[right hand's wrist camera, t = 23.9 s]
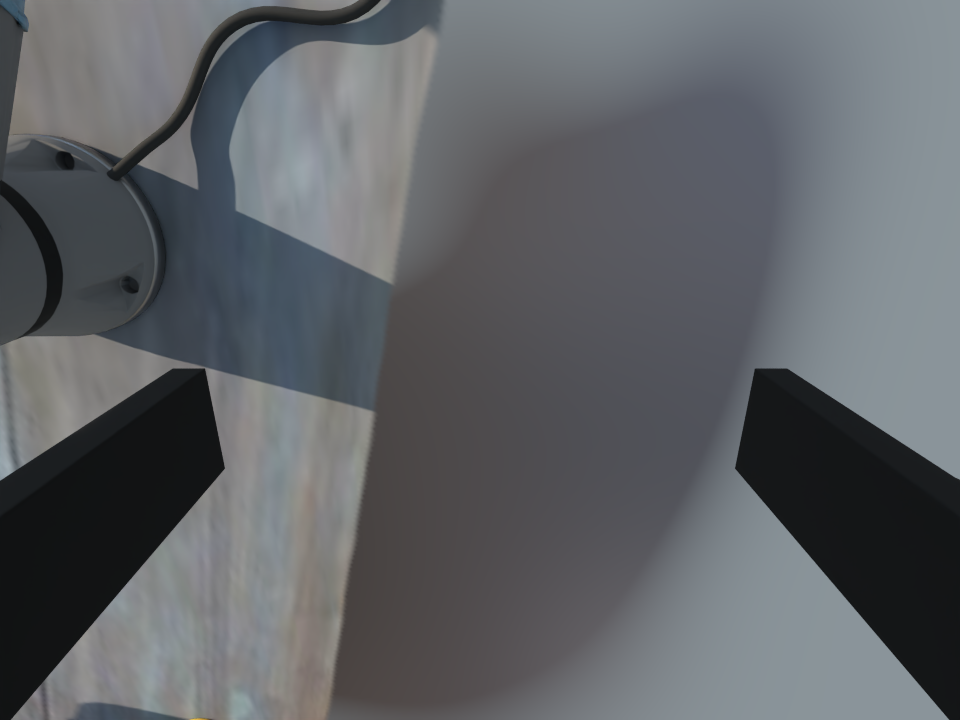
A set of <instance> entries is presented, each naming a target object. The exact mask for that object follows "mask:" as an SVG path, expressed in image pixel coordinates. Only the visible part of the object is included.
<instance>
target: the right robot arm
mask: <svg viewBox="0 0 960 720" xmlns="http://www.w3.org/2000/svg"><path fill="white" fill-rule="evenodd" d="M379 2H380V0H359V1H357V2H355V3H354V4H352V5H350V6H347V7H345V8H342V9H337V10H331V11H315V10H305V9H297V8H289V7H278V6H262V7H254V8H250V9H247V10H243V11H240V12H238V13H236V14H235V15H233V16H231V17H229V18H228V19H226V20H225V21H224V22H223V23H221V24H220V25H219V26H218V27H217V28H216V29H215V30H214V32H213V33H212V34H211V35H210V37H209V38H208V40H207V41H206V43H205V44H204V46H203V48H202V50H201V52H200V54H199V57H198V59H197V62H196V64H195V67H194V70H193V73H192V75H191V78H190V81H189V84H188V86H187V89H186V91H185V94H184V96H183V98H182V100H181V102H180V104H179V106H178V107H177V109H176V111H175V112H174V113H173V115H172V116H171V117H170V119H169V120H168V121H167V122H166V123H165V124H164V125H163V126H162V127H161V128H160V129H158V130H157V131H156V132H155V133H153V134H152V135H151V136H149V137H148V138H147V139H145V140H144V141H143V142H142V143H140V144H139V145H138V146H137V147H136V148H134V149H133V150H132V151H131V152H130V153H129V154H128V155H126V156H125V157H124V158H123V159H122V160H121V161H120V162H118V163H117V164H115V163H114V162H112V161H111V160H110V159H108V158H107V157H105V156H104V155H102V154H101V153H99V152H97V151H96V150H94V149H92V148H90V147H88V146H86V145H83V144H81V143H78V142H76V141H73V140H69V139H66V138H62V137H56V136H49V135H36V134H14V135H9V129H10V122H11V115H12V108H13V101H14V94H15V87H16V80H17V73H18V66H19V59H20V52H21V44H22V37H23V31H24V32H28V27H29V23H28V19H27V17H26V16H25V14H24V6H25V0H0V345H3V344H5V343H8V342H10V341H13V340H16V339H18V338H21V337H24V336H84V335H91V334H96V333H101V332H105V331H108V330H111V329H114V328H116V327H118V326H121V325H123V324H125V323H127V322H129V321H131V320H133V319H135V318H136V317H138V316H139V315H140V314H141V313H143V312H144V311H145V310H146V309H147V308H148V307H149V306H150V304H151V303H152V301H153V300H154V299H155V297H156V295H157V293H158V291H159V289H160V286H161V284H162V280H163V277H164V271H165V246H164V240H163V236H162V231H161V228H160V225H159V222H158V220H157V218H156V215H155V213H154V211H153V209H152V207H151V205H150V203H149V202H148V200H147V199H146V197H145V195H144V194H143V193H142V191H141V190H140V189H139V187H138V186H137V185H136V183H135V182H134V181H133V180H132V179H131V178H130V177H129V176H128V175H127V174H126V173H127V172H129V171H130V170H131V169H132V168H133V167H134V166H135V165H137V164H138V163H139V162H140V161H141V160H142V159H143V158H145V157H146V156H147V155H148V154H149V153H151V152H152V151H153V150H154V149H156V148H157V147H158V146H160V145H161V144H162V143H164V142H165V141H166V140H167V139H169V138H170V137H171V136H172V135H173V134H174V133H175V132H176V131H177V130H178V129H179V128H180V127H181V125H182V124H183V123H184V121H185V120H186V119H187V117H188V115H189V114H190V112H191V110H192V109H193V106H194V104H195V102H196V100H197V98H198V95H199V93H200V91H201V88H202V85H203V82H204V80H205V77H206V74H207V72H208V69H209V66H210V64H211V62H212V60H213V57H214V56H215V54H216V52H217V50H218V49H219V47H220V46H221V45H222V43H223V42H224V41H225V40H226V39H227V38H228V37H229V36H230V35H231V34H233V33H234V32H235V31H236V30H238V29H240V28H242V27H244V26H246V25H248V24H252V23H255V22H261V21H286V22H295V23H303V24H311V25H336V24H342V23H346V22H349V21H352V20H354V19H357V18H359V17H360V16H362V15H364V14H365V13H367V12H369V11H370V10H371V9H372V8H373V7H374V6H375V5H377V4H378V3H379ZM224 469H225V467H224V462H223V457H222V451H221V446H220V441H219V436H218V431H217V426H216V421H215V416H214V411H213V406H212V401H211V396H210V391H209V386H208V381H207V376H206V371H205V369H172V370H170V371H168V372H167V373H165V374H164V375H162V376H161V377H159V378H158V379H156V380H155V381H153V382H152V383H150V384H148V385H147V386H145V387H144V388H142V389H141V390H139V391H138V392H136V393H135V394H133V395H132V396H130V397H128V398H127V399H125V400H124V401H122V402H121V403H119V404H118V405H116V406H115V407H113V408H111V409H110V410H108V411H107V412H105V413H104V414H102V415H101V416H99V417H98V418H96V419H95V420H93V421H91V422H90V423H88V424H87V425H85V426H84V427H82V428H81V429H79V430H78V431H76V432H75V433H73V434H71V435H70V436H68V437H67V438H65V439H64V440H62V441H61V442H59V443H58V444H56V445H55V446H53V447H51V448H50V449H48V450H47V451H45V452H44V453H42V454H41V455H39V456H38V457H36V458H34V459H33V460H31V461H30V462H28V463H27V464H25V465H24V466H22V467H21V468H19V469H18V470H16V471H14V472H13V473H11V474H10V475H8V476H7V477H5V478H4V479H2V480H1V481H0V720H11V719H12V718H13V716H14V715H15V714H16V713H17V712H18V711H19V709H20V708H21V707H22V706H23V705H24V704H25V702H26V701H27V700H28V699H29V698H30V697H31V695H32V694H33V693H34V692H35V691H36V690H37V688H38V687H39V686H40V685H41V684H42V682H43V681H44V680H45V679H46V678H47V677H48V675H49V674H50V673H51V672H52V671H53V670H54V668H55V667H56V666H57V665H58V664H59V663H60V661H61V660H62V659H63V658H64V657H65V655H66V654H67V653H68V652H69V651H70V650H71V648H72V647H73V646H74V645H75V644H76V643H77V641H78V640H79V639H80V638H81V637H82V636H83V634H84V633H85V632H86V631H87V630H88V628H89V627H90V626H91V625H92V624H93V623H94V621H95V620H96V619H97V618H98V617H99V616H100V614H101V613H102V612H103V611H104V610H105V609H106V607H107V606H108V605H109V604H110V603H111V602H112V600H113V599H114V598H115V597H116V596H117V594H118V593H119V592H120V591H121V590H122V589H123V587H124V586H125V585H126V584H127V583H128V582H129V580H130V579H131V578H132V577H133V576H134V575H135V573H136V572H137V571H138V570H139V569H140V567H141V566H142V565H143V564H144V563H145V562H146V560H147V559H148V558H149V557H150V556H151V555H152V553H153V552H154V551H155V550H156V549H157V548H158V546H159V545H160V544H161V543H162V542H163V541H164V539H165V538H166V537H167V536H168V535H169V533H170V532H171V531H172V530H173V529H174V528H175V526H176V525H177V524H178V523H179V522H180V521H181V519H182V518H183V517H184V516H185V515H186V514H187V512H188V511H189V510H190V509H191V508H192V506H193V505H194V504H195V503H196V502H197V501H198V499H199V498H200V497H201V496H202V495H203V494H204V492H205V491H206V490H207V489H208V488H209V487H210V485H211V484H212V483H213V482H214V481H215V480H216V478H217V477H218V476H219V475H220V474H221V472H222V471H223V470H224ZM735 469H736V470H737V471H738V472H739V474H740V475H741V476H742V477H743V478H744V480H745V481H746V482H747V483H748V484H749V485H750V487H751V488H752V489H753V490H754V491H755V492H756V494H757V495H758V496H759V497H760V498H761V499H762V501H763V502H764V503H765V504H766V505H767V506H768V508H769V509H770V510H771V511H772V512H773V513H774V515H775V516H776V517H777V518H778V519H779V521H780V522H781V523H782V524H783V525H784V526H785V528H786V529H787V530H788V531H789V532H790V533H791V535H792V536H793V537H794V538H795V539H796V540H797V542H798V543H799V544H800V545H801V546H802V548H803V549H804V550H805V551H806V552H807V553H808V555H809V556H810V557H811V558H812V559H813V560H814V562H815V563H816V564H817V565H818V566H819V567H820V569H821V570H822V571H823V572H824V573H825V575H826V576H827V577H828V578H829V579H830V580H831V582H832V583H833V584H834V585H835V586H836V587H837V589H838V590H839V591H840V592H841V593H842V594H843V596H844V597H845V598H846V599H847V600H848V602H849V603H850V604H851V605H852V606H853V607H854V609H855V610H856V611H857V612H858V613H859V614H860V616H861V617H862V618H863V619H864V620H865V621H866V623H867V624H868V625H869V626H870V627H871V628H872V630H873V631H874V632H875V633H876V634H877V636H878V637H879V638H880V639H881V640H882V641H883V643H884V644H885V645H886V646H887V647H888V648H889V650H890V651H891V652H892V653H893V654H894V655H895V657H896V658H897V659H898V660H899V661H900V663H901V664H902V665H903V666H904V667H905V668H906V670H907V671H908V672H909V673H910V674H911V675H912V677H913V678H914V679H915V680H916V681H917V682H918V684H919V685H920V686H921V687H922V688H923V689H924V691H925V692H926V693H927V694H928V695H929V696H930V698H931V699H932V700H933V701H934V702H935V704H936V705H937V706H938V707H939V708H940V709H941V711H942V712H943V713H944V714H945V715H946V716H947V718H948V719H949V720H960V480H959V479H957V478H955V477H953V476H952V475H950V474H949V473H947V472H945V471H944V470H942V469H941V468H939V467H938V466H936V465H935V464H933V463H932V462H930V461H929V460H927V459H926V458H924V457H922V456H921V455H919V454H918V453H916V452H915V451H913V450H912V449H910V448H909V447H907V446H905V445H904V444H902V443H901V442H899V441H898V440H896V439H895V438H893V437H892V436H890V435H889V434H887V433H885V432H884V431H882V430H881V429H879V428H878V427H876V426H875V425H873V424H872V423H870V422H868V421H867V420H865V419H864V418H862V417H861V416H859V415H858V414H856V413H855V412H853V411H852V410H850V409H849V408H847V407H845V406H844V405H842V404H841V403H839V402H838V401H836V400H835V399H833V398H832V397H830V396H828V395H827V394H825V393H824V392H822V391H821V390H819V389H818V388H816V387H815V386H813V385H812V384H810V383H808V382H807V381H805V380H804V379H802V378H801V377H799V376H798V375H796V374H795V373H793V372H792V371H790V370H788V369H755V371H754V376H753V381H752V386H751V391H750V396H749V401H748V406H747V411H746V416H745V421H744V426H743V431H742V437H741V441H740V446H739V451H738V457H737V462H736V467H735Z"/></svg>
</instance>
